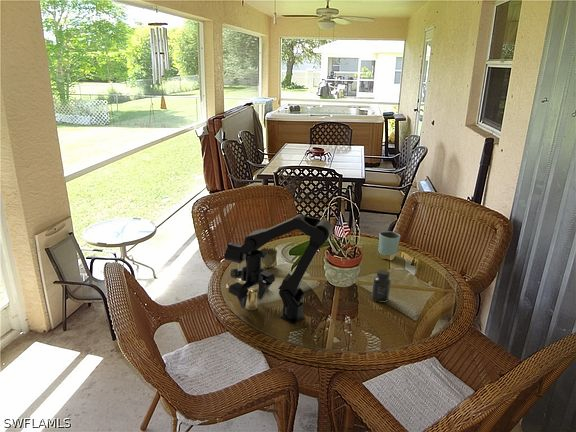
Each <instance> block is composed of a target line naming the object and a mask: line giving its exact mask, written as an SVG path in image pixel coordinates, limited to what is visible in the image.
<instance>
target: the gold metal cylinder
mask: <svg viewBox="0 0 576 432" xmlns="http://www.w3.org/2000/svg"><path fill="white" fill-rule="evenodd" d="M247 294H248V298H247V301H246V305H245V308H246V310H248V311H256V310H257V308H258V294H259V292H258V291H257V289H254V288H250V289H248V293H247Z"/></svg>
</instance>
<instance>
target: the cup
mask: <svg viewBox="0 0 576 432" xmlns="http://www.w3.org/2000/svg"><path fill="white" fill-rule="evenodd" d="M262 249H264V250H265V251H266V252H267V253H268V254H267V255H266V256H265V258H262V263H263V267H264V268H266V269H272V267H273V265H274V264H275V263H276V260H277V255H278V250H277V249H275V248H271V247H263V248H261V249H260V250H262Z"/></svg>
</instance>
